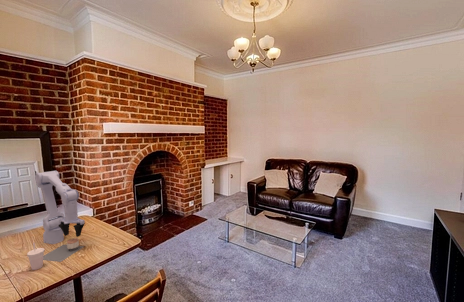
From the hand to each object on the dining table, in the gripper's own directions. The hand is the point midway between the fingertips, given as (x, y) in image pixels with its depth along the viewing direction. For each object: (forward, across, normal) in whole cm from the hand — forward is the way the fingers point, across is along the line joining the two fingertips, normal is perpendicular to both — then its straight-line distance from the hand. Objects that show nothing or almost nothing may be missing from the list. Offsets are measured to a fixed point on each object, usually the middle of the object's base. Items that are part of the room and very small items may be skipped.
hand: (72, 235), depth 122 cm
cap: (+6, 0, 0) cm, 6 cm away
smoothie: (+10, -3, -17) cm, 20 cm away
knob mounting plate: (+9, -3, -4) cm, 11 cm away
